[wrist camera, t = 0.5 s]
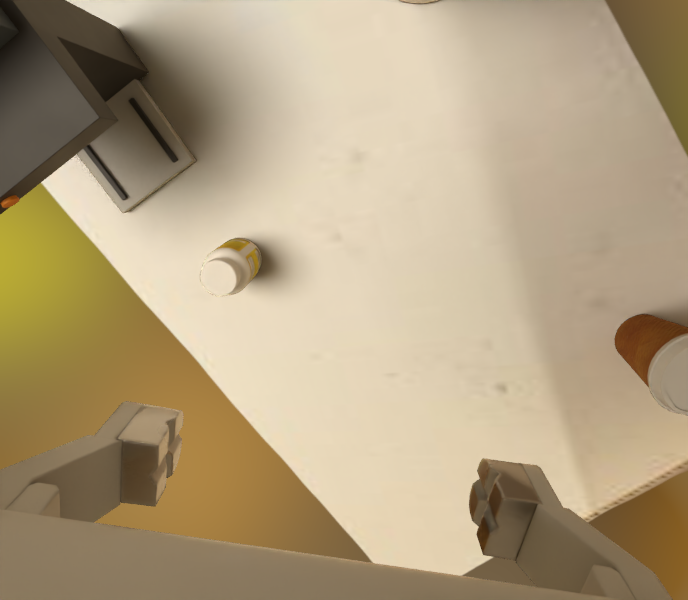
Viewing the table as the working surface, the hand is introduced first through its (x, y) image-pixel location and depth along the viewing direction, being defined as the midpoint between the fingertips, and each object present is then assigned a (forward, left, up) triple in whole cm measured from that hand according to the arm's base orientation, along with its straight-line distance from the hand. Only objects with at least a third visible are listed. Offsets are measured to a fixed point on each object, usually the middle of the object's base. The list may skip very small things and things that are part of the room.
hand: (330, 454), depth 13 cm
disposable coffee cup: (+7, +38, -47) cm, 61 cm away
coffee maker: (-5, -30, -47) cm, 56 cm away
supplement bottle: (+7, -13, -47) cm, 50 cm away
